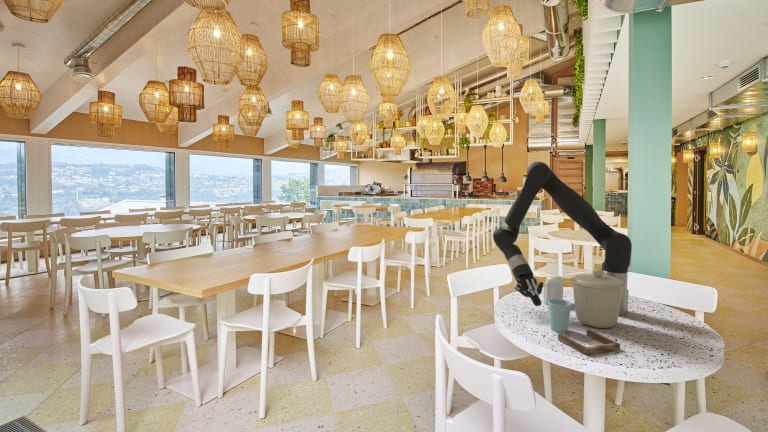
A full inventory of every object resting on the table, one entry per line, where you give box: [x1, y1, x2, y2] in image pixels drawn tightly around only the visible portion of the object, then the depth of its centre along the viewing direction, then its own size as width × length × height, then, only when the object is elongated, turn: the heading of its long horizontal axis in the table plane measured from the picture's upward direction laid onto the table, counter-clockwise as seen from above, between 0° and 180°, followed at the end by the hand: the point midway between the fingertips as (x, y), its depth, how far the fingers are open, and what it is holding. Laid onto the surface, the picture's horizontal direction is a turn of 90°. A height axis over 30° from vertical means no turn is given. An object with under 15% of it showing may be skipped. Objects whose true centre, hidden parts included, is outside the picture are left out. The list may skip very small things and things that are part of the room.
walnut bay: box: [557, 329, 621, 356], centre depth 122 cm, size 13×12×2 cm
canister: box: [570, 268, 626, 329], centre depth 140 cm, size 18×18×21 cm
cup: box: [548, 299, 573, 334], centre depth 135 cm, size 8×8×10 cm
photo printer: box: [543, 274, 564, 306], centre depth 165 cm, size 10×4×12 cm, turn 123°
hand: (538, 305), depth 145 cm, fingers closed
